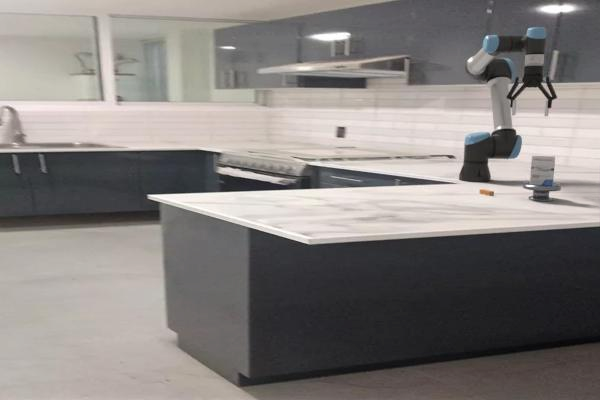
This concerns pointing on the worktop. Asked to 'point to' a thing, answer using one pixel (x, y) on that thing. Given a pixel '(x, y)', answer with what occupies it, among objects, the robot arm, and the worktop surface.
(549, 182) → the ink box
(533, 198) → the rosette stub
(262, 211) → the worktop surface
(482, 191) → the wedge pin
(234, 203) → the worktop surface
